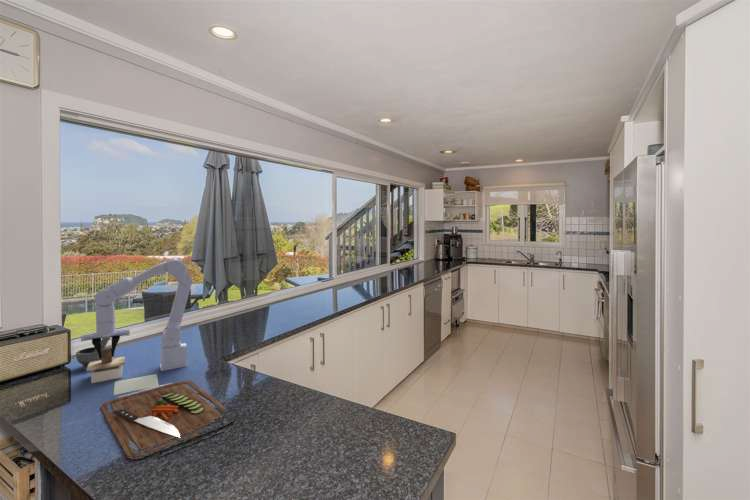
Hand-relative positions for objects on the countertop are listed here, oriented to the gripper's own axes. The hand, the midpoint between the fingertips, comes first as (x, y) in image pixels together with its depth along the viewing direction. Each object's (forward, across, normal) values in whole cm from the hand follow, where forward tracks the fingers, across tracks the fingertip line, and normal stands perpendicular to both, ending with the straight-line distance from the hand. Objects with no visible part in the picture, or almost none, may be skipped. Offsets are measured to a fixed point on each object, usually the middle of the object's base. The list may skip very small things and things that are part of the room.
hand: (106, 356), depth 134 cm
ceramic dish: (+8, 0, 0) cm, 8 cm away
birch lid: (+3, 0, 0) cm, 3 cm away
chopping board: (+9, +16, -44) cm, 47 cm away
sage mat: (+8, +9, -14) cm, 18 cm away
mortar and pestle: (+8, -5, +17) cm, 19 cm away
